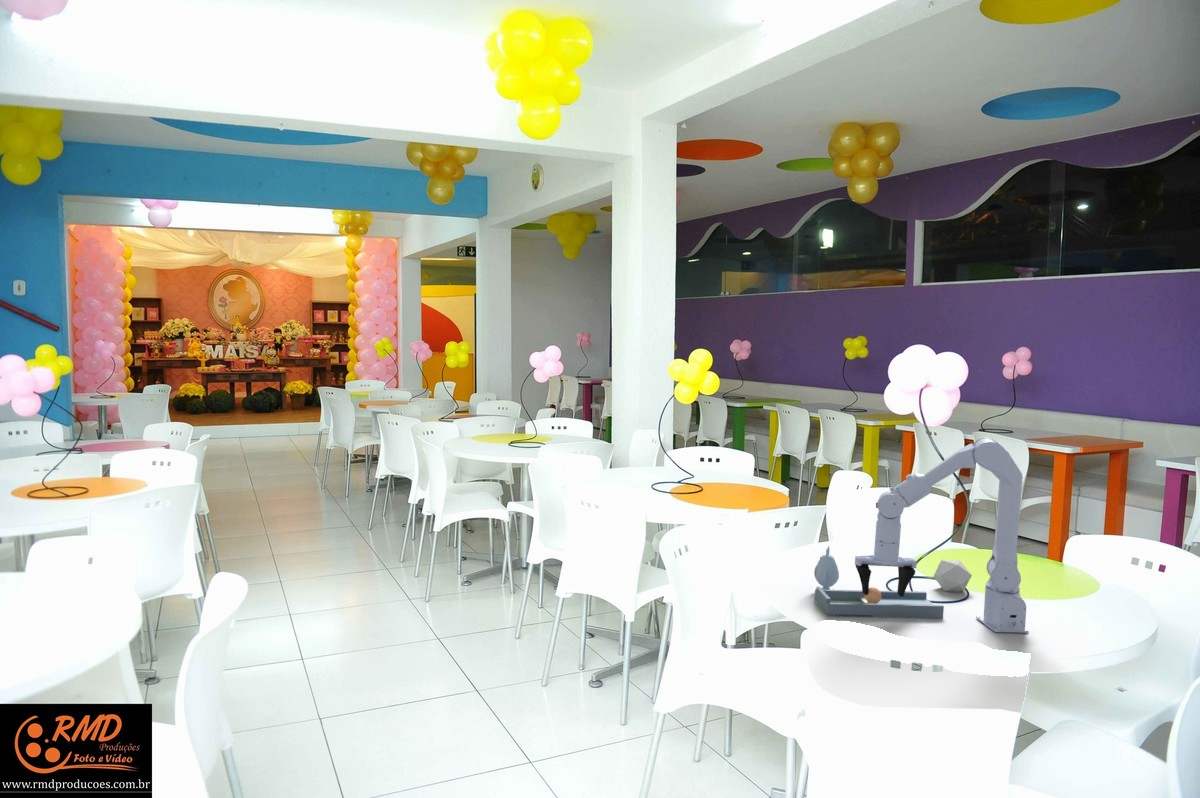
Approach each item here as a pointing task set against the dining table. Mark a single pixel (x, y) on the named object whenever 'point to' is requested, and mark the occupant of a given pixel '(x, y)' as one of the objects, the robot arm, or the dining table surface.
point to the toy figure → (826, 571)
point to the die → (952, 575)
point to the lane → (877, 604)
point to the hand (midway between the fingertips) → (882, 594)
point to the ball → (873, 595)
